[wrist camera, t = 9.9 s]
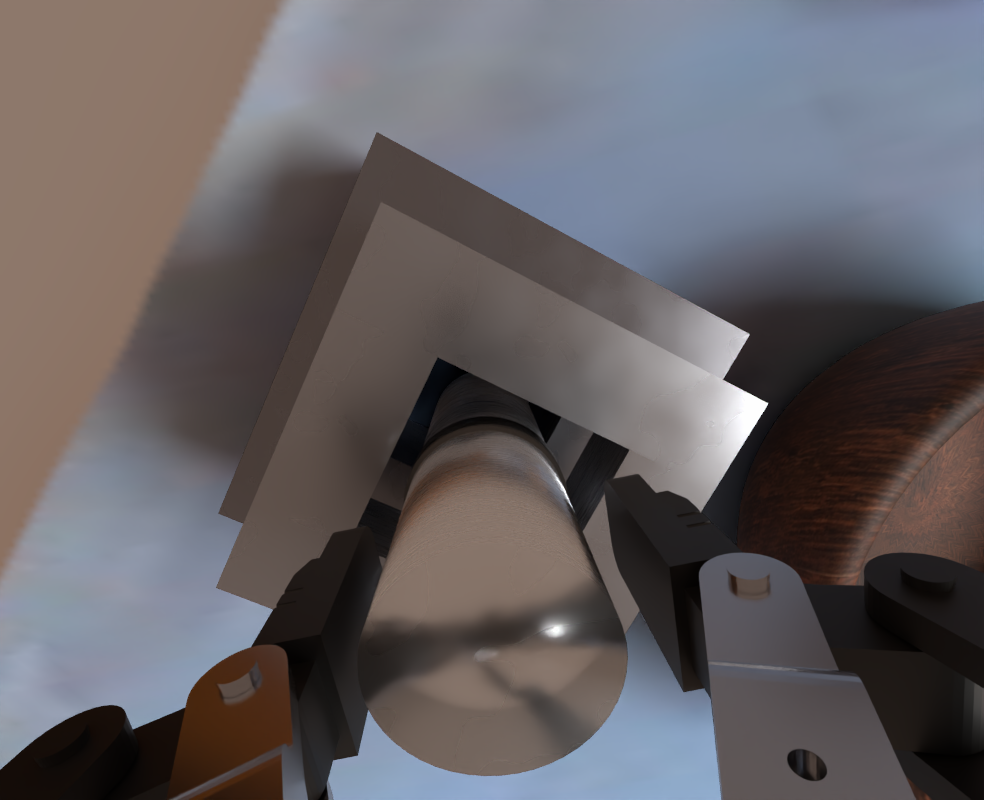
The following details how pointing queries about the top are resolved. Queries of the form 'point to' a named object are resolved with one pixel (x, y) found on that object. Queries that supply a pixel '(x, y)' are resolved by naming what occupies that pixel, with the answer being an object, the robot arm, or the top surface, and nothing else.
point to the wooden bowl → (877, 458)
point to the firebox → (474, 372)
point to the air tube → (489, 600)
